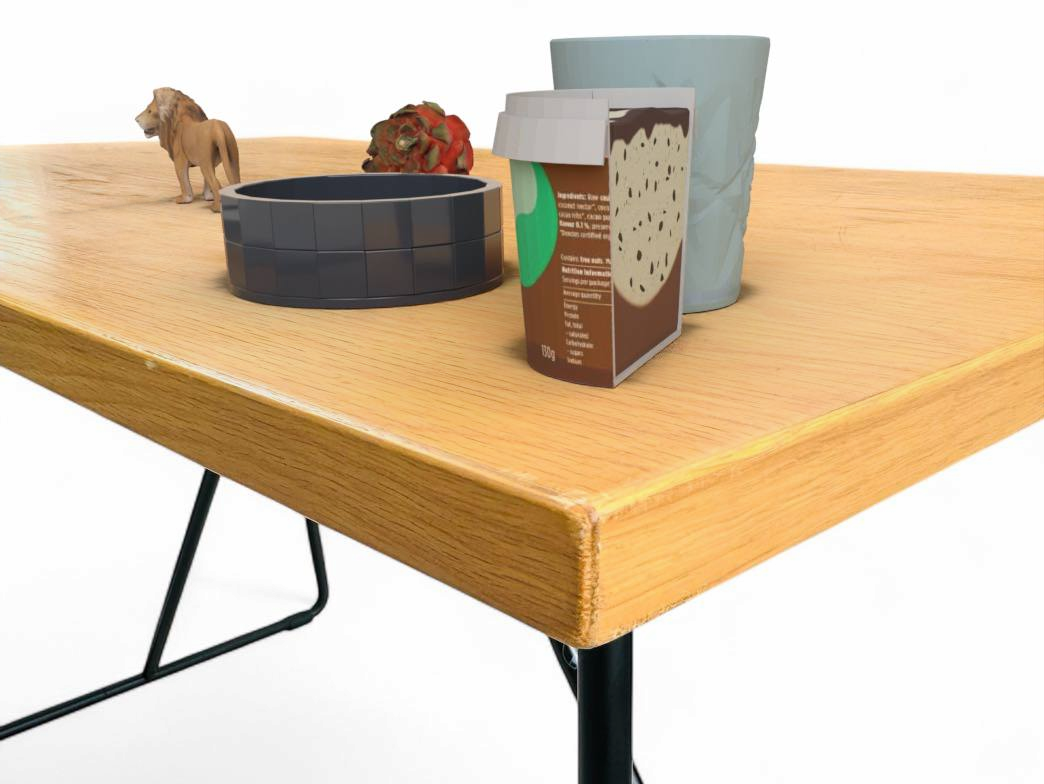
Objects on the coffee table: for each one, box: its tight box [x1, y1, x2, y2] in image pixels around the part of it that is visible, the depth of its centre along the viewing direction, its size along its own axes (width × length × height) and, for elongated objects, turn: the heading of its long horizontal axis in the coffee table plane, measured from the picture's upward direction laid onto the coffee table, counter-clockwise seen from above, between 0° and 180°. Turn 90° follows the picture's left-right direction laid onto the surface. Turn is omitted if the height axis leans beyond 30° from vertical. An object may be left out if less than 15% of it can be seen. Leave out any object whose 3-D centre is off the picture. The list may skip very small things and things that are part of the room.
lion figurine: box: [134, 86, 242, 212], centre depth 98 cm, size 15×5×9 cm, turn 43°
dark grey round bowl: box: [219, 172, 505, 310], centre depth 64 cm, size 15×15×5 cm
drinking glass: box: [549, 34, 771, 314], centre depth 58 cm, size 10×10×12 cm
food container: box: [491, 87, 697, 388], centre depth 48 cm, size 12×6×10 cm, turn 159°
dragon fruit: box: [360, 100, 475, 175], centre depth 96 cm, size 8×8×12 cm
